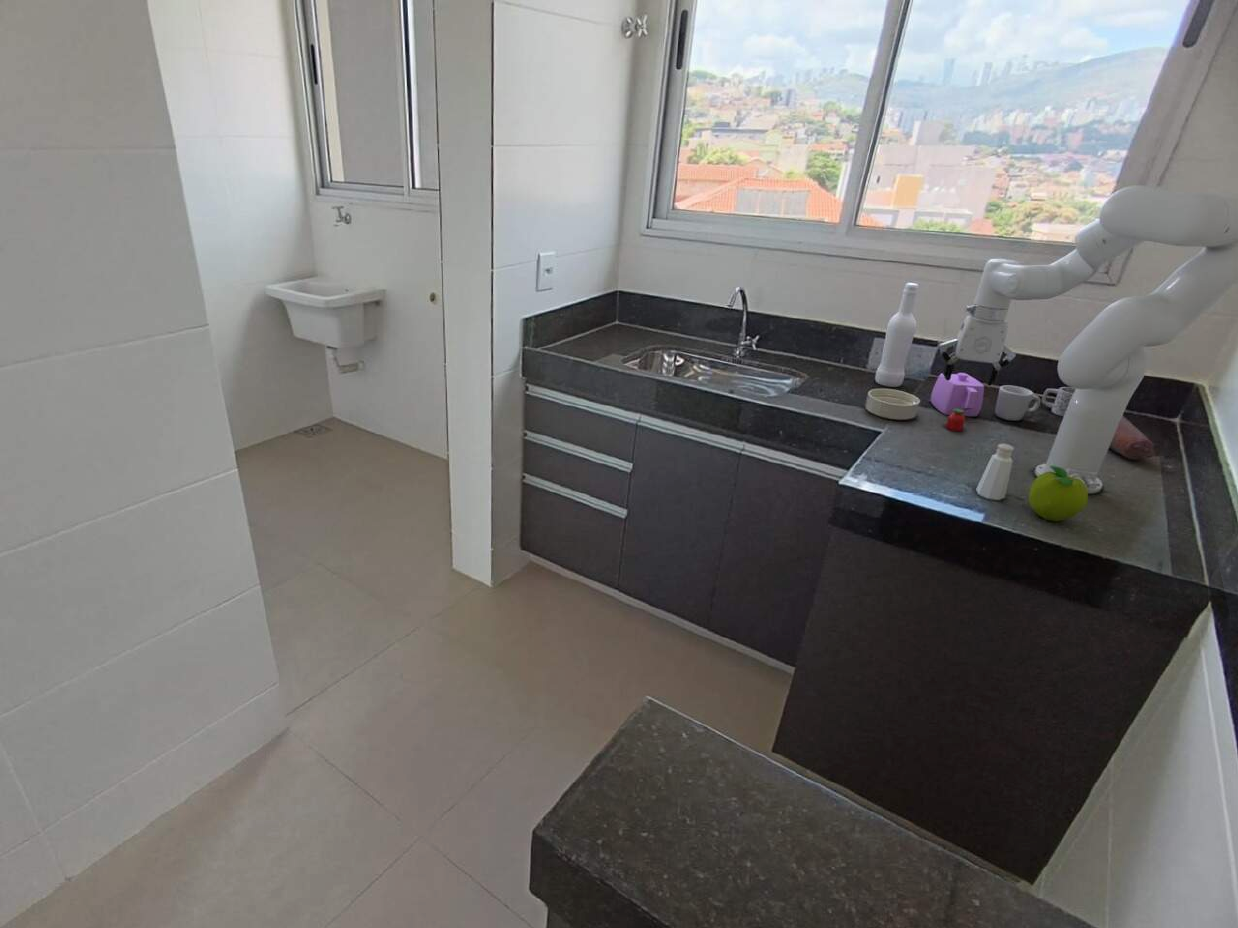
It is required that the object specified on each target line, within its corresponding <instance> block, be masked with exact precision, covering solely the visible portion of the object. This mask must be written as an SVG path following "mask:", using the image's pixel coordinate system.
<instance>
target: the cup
mask: <svg viewBox="0 0 1238 928" xmlns="http://www.w3.org/2000/svg"><path fill="white" fill-rule="evenodd" d="M1033 400H1035V403H1034V405H1033V406H1032V407H1030V408H1029V405H1030V403H1031V402H1032V401H1033ZM1040 405H1041V398H1040V396H1038V395H1036V394H1034V392H1033V391H1032V390H1030V389H1028V388H1025V387H1022V386H1017V385H1010V384H1009V385H1001V386H1000V387H999V390H998V395H997V400H996V404H995V410H994V411H995V416H997V417H998V418H1000V419H1002V420H1006V421H1011V422H1016V421H1021V420H1022V418H1023V417H1024V415H1025V414H1026V413H1033V412H1036V411H1037V410H1038V408H1039V407H1040Z"/></svg>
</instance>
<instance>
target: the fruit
mask: <svg viewBox="0 0 1238 928" xmlns="http://www.w3.org/2000/svg"><path fill="white" fill-rule="evenodd" d="M1050 467H1051V468H1052V469H1053V470H1054V472H1055V473H1054V472H1045V473H1043V474H1041V475H1040V476H1038V477H1037V476H1036V478H1034V480H1032V483H1031V484H1030V487H1029V491H1028V501H1029V505H1030V507H1031V510H1033V512H1034V513H1035V514H1036V515H1038V516H1039V517H1041V518H1043V519H1044V520H1045V521H1051V522H1061V521H1066V520H1069V519H1072V518H1074V517H1076V516H1077V515H1078V514H1080V513H1081V512H1082V511H1083V510H1084V509H1085V507H1086V506H1087V503H1088V502H1089V494H1088V492H1087V489H1086V487H1085V485H1084V483H1083V482H1082V481H1081V480H1080V479H1078V478H1074V477H1069V476H1067V472H1066V471H1065V470H1064V469H1062V468H1060V467H1057V466H1050Z"/></svg>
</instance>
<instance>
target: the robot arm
mask: <svg viewBox="0 0 1238 928" xmlns="http://www.w3.org/2000/svg"><path fill="white" fill-rule="evenodd" d="M1145 242H1153V243H1159V244H1164V245H1171V246H1175V247H1176V246H1177V247H1186V248H1187V247H1189V248H1194V247H1195V248H1202V249H1201V250H1200V251H1199V252H1198V253H1196V254H1195V255H1194V256H1193V257H1191V258H1190V259H1188V260H1187V261H1185V262H1184V263H1183V264H1181V265H1180V266H1179V267H1178V268H1177V269H1175V270H1174V271H1173V273H1171V275H1169V277H1168V278H1167V279H1166V280H1164V282H1162V283H1161V284H1160V285H1159V286H1158V287H1157V288H1155V290H1153V291H1151V292H1150V293H1148V294H1145V295H1144V294H1143V295H1133V296H1127V297H1123V298H1120V299H1118V300H1116V301H1115V302H1113V303H1111V304H1110V305H1108V306H1107V307H1105V308H1104V309H1103V310H1101V312H1100V313H1099V314H1098V315H1097V316H1095V317H1094V318H1093V319H1092V321H1091V322H1090V323H1089V324H1088V325H1087V326H1086V327H1084V329H1082V330H1081V332H1080V333H1079V334H1078V335H1077V336H1076V337H1075V338H1074V339H1073V340H1072V341H1071V342H1070V343H1069V344H1068V345H1067V347H1065V349H1064V350H1063V351H1062V353H1061V355H1060V357H1059V358H1058V362H1057V375H1058V378H1059V379H1060V380H1061V382H1062V383H1063V384H1065V385H1066V387H1070V388H1075V389H1076V390H1075V392H1074V394H1073V396H1072V398H1071V400H1070V402H1069V405H1068V407H1067V410H1066V412H1065V415H1064V417H1063V416H1062V420H1061V423H1060V425H1059V429H1058V431H1057V434H1056V437H1055V439H1054V441H1053V445H1052V447H1051V450H1050V452H1049V454H1048V457H1047V460H1046V462H1045V463H1042V464H1041V463H1040V464H1038V465H1037V466H1036V467H1035V469H1034V474H1035V476H1036V478H1037V477H1038V476H1040V475H1041V474H1043V473H1045V472H1054V470H1053V469H1052V468H1051V467H1050V466H1057V467H1060V468H1062V469H1064V470H1065V471H1066V472H1067V476H1069V477H1074V478H1078V479H1080V480H1081V481H1082V482H1083V483H1084V485H1085V487H1086V489H1087V492H1088V495H1089V494H1097V493H1098V492H1100V491H1101V490H1102V488H1103V482H1102V480H1101V479H1099V478H1098V474H1099V472H1100V471H1101V468H1102V465H1103V463H1104V461H1105V458H1106V456H1107V454H1108V451H1109V449H1110V448H1109V446H1110V444H1111V441H1112V439H1113V437H1114V434H1115V432H1116V429H1117V427H1118V425H1119V422H1120V420H1121V418H1122V416H1124V413H1125V411H1126V409H1127V406H1128V404H1129V402H1130V400H1131V398H1132V396H1133V395H1134V393H1135V391H1136V390H1137V388H1138V387H1139V385H1140V383H1141V382H1142V381H1143V379H1144V377H1145V375H1146V373H1147V371H1148V367H1149V361H1150V359H1149V355H1148V352H1147V350H1146V349H1145V348H1149V347H1157V346H1164V345H1166V344H1169V343H1171V342H1173V341H1175V340H1176V339H1177V338H1178V337H1180V336H1181V335H1182V334H1183V333H1184V332H1185V331H1186V330H1188V329H1189V327H1191V326H1192V325H1193V324H1194V323H1195V322H1196V321H1197V320H1198V319H1199V318H1200V317H1202V316H1203V315H1204V314H1205V313H1206V312H1207V311H1208V310H1209V309H1211V308H1212V307H1213V306H1214V305H1215V304H1216V303H1217V302H1218V301H1219V300H1220V299H1221V298H1223V296H1225V294H1227V293H1228V292H1229V291H1230V290H1231V289H1232V288H1233V287H1235V286H1236V285H1237V284H1238V194H1231V193H1230V194H1229V193H1228V194H1226V193H1225V194H1224V193H1222V194H1221V193H1204V192H1191V191H1178V190H1174V189H1172V188H1170V187H1166V186H1158V185H1141V184H1139V185H1135V184H1134V185H1128V186H1125V187H1122V188H1120V189H1118V190H1117V191H1115V192H1113V193H1112V194H1111V195H1110V196H1108V197H1107V199H1105V201H1104V202H1103V204H1102V206H1101V208H1100V210H1099V216H1098V218H1096V219H1094V220H1092V221H1091V222H1089V223H1088V224H1087V225H1084V226H1083V227H1082V228H1080V229H1079V230H1078V231H1077V232H1076V234H1075V236H1074V245H1075V249H1073V250H1072V251H1071V252H1069V253H1068V254H1066V255H1065V256H1063V257H1061V258H1059V259H1058V260H1056V261H1053V262H1052V263H1050V264H1021V263H1020V262H1019V261H1017V260H1012V259H1007V258H991V259H989V260H987V262H986V263H985V265H984V267H983V268H984V269H983V271H982V275H981V278H980V280H979V285H978V288H977V291H976V294H975V298H974V301H973V303H972V304H971V305H966V306H965V309H964V312H966V313H968V314H969V315H966V317H965V319H964V320H963V323H962V325H961V326H960V329H959V331H958V334H957V336H956V338H954V339H951V340H947V341H944V342H941V343H939V344H938V348H939V351H940V356H941V357H942V358H943V359H944V360H945V365H944V368H943V372H942V374H943V375H944V377H945V379H946V380H950V378H951V374H953V372H954V371H953V370H954V368H955V365H954V363H956V362H957V361H958V360H962V361H969V362H978V363H986V364H991V366H989V368H988V370H987V373H986V375H985V376H986V377H985V379H984V383H986V385H987V386H990V387H991V386H992V384H993V383H994V382H996V378H997V376H998V373H999V371H1000V370H1001V369H1002V368H1004V367H1006V366H1008V365H1009V364H1010V362H1011V361H1012V360H1013V359H1014V358H1016V356H1017V354H1016V353H1015V352H1014V351H1013V350H1011V349H1010V348H1009V347H1007V346H1006V345H1005V343H1006V338H1007V334H1008V329H1009V322H1008V321H1006V318H1007V314H1008V311H1009V308H1010V305H1011V302H1012V300H1014V301H1031V300H1049V299H1054V298H1056V297H1058V296H1061V295H1063V294H1065V293H1068V292H1069V291H1071V290H1073V289H1075V288H1077V287H1078V286H1081V285H1082V284H1084V283H1085V282H1087V281H1088V280H1090V279H1091V278H1092V277H1094V275H1096V274H1097V273H1098V272H1099V271H1100V270H1101V268H1102V267H1103V266H1104V265H1105V264H1107V263H1108V262H1110V261H1112V260H1113V259H1115V258H1117V257H1119V256H1121V255H1122V254H1124V253H1126V252H1128V251H1130V250H1132V249H1134V248H1135V247H1137V246H1139V245H1141V244H1143V243H1145ZM952 347H953V348H952ZM950 348H952V353H950V354H948V352H947V349H950ZM1003 353H1004V354H1005V356H1004V357H1003V358H1002V355H1003ZM1001 358H1002V359H1001ZM1054 473H1055V472H1054Z"/></svg>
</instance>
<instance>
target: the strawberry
mask: <svg viewBox="0 0 1238 928" xmlns="http://www.w3.org/2000/svg"><path fill="white" fill-rule="evenodd" d="M963 414H964V411H963V410H961V409H954V412H953V413H951V414H950V415H948V417H947V420H946V424H945V428H946V429H947V430H949V431H954V432H962V431H963V430H964V426H965V422H966V416H964V415H963Z"/></svg>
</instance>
